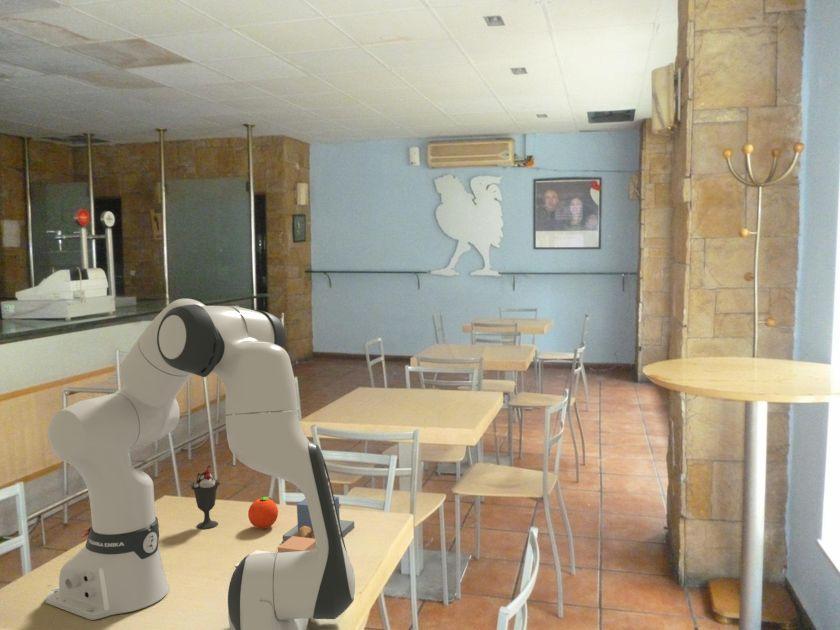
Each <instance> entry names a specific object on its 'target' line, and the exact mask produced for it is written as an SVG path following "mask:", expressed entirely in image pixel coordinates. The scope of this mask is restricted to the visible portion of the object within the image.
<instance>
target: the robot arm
mask: <svg viewBox="0 0 840 630" xmlns="http://www.w3.org/2000/svg"><path fill="white" fill-rule="evenodd" d="M286 346H287V334H286V329H285V326H284V324H283V323H282V321H281V320H280V319H279V318H278V317H276V316H275V315H273V314H271V313H270V312H266V311H264V310H261V309H249V308H246V307H245V308H244V307H240V306H234V305H205V304H204V303H202V302H201V301H199V300H195V299H192V298H178V299H175V300H174V301H172V302H170V303H169V304H168V305H167V306H166V307H165V308H163V309H162V310H161V311H160V313H158V314H157V315H156V316H155V318H153V320H151V322H150V323H149V324H148V325H147V327H146V328H145V329H144V331H143V332H142V333H141V335H140V336H139V337H138V339H137V340H136V342H135V344H134V345H133V346H132V347H131V349H130V350H129V352H128V353H127V355H126V356H125V358H124V359H123V360H122V362H121V364H120V367H119V377H120V382H121V384H122V386H123V387H121V389H119V390H118V391H115V392H112V393H110V394H106V395H101V396H97V397H92V398H86V399H82V400H80V401H77V402H75V403H72V404H71V405H68V406H66V407H65V408H62V409H60V410H59V411H57V412H55V414H53V416H52V417H51V419H50V422H49V424H48V427H47V439H48V444H49V447H50V449H51V450H52V452H53V453H54V455H56V457H57V458H59V459H60V460H61V461H62V462H65V463H67V464H69V465H71V466H72V467H74V468H75V469H76V471H77V472H78V473H79V474H80V476H81V477H82V479H83V481H84V483H85V485H86V488H87V493H88V498H89V506H90V515H91V524H92V525H91V526H90V527H88V528H87V529H84V530H82V531H81V532H80V534H82V535H81V536H80V538H81V539H83V538H84V537H87V539H86V542H85V546H83V547H82V548H81V549H80V550H79V551H77V553H75V554H74V555H73V556H71V558H70V559H68V560H67V561H66V562H65V563H64V564H63V566H62V567H61V568H60V573H59V579H58V580H59V581H58V585H57V586H56V587H54V588H53V589H52V590H50V591H49V593H48V594H47V595H46V596H45V603H46V604H48V605H51V606H53V607H56V608H59V609H62V610H63V611H67V612H68V613H71V614H74V615H77V616H80V617H83V618H85V619H88V620H90V621H91V620H92V621H93V620H99V619H102V618H106V617H109V616H113V615H118V614H119V615H120V614H125V613H130V612H131V613H132V612H134V611H137V610H141V609H144V608H147V607H149V606H152V605H153V604H156V603H157V602H159V601H161V600H162V599H163V598H164V597H166V595H167V594H168V593H169V591H170V586H169V583H168V580H167V575H166V571H165V570H164V566H163V561H162V556H161V550H160V545H159V539H160V529H159V528H160V525H159V519H158V517H157V515H156V505H155V490H154V481H153V479H152V477H150V475H149V474H147V473H146V472H145V471H142V470H139V469H136V468H134V467H133V465H132V463H131V459H130V455H129V453H130V450H133V449H136V448H139V447H143V446H146V445H149V444H153V443H155V442H157V441H159V440H160V439H162V438H163V437H165V436H166V435H169V434H170V433H172V432H173V431H174V430H175V429H176V428H177V426H178V424H179V422H180V416H181V415H180V413H181V411H180V406H179V403H178V400H177V396H178V395H179V393H180V392H181V390H182V388H183V387H184V386H185V385H186V384H187V382H188V381H189V380H190V378H191V377H192V375H193V374H194V375H197V376H199V377H201V378H207V377H208V376H209V375H210V374H214V375H215V376H217V377H218V378H220V380H221V381H222V383H223V386H224V390H225V392H224V393H225V430H226V438H227V443H228V444H227V445H228V447H229V450H230V451H231V453H232V454H233V456H234V457H235V459H237V460H238V461H239V462H240V463H241V464H243V465H244V466H246V467H248V468H250V469H251V470H253V471H256V472H258V473H261V474H264V475H268V476H271V477H274V478H279V479H281V480H283V481H285V482H288V483H291V484H292V485H294V486H295V487H296V488H297V489H298V490H299V491H301V493H302V494H303V495H304V496H303V497H304V499H305V498H306V501H307V505H308V509H309V514H310V518H311V523H312V527H313V532H314V536H315V541H316V545H317V546H316V548H315V549H313V550H308V551H295V552H282V553H279V552H278V551H275V552H273V551H272V552H273V553H261V554H252V553H251V554H252V555H250V554H248V555H245V557H244V558H243V559H241V561H239V562H240V563H239V562H238V563H239V565H238V566H237V567H236V568H235V570H233V572H232V574H231V577H230V582H229V585H228V591H227V608H228V612H227V615H228V616H227V617H228V627H229V630H307V628H308V624H309V620H310V619H312V618H313V619H314V620H336V619H338V618H339V617H340V616H341V615H342V614H344V612H345V611H346V610H348V608H350V606H351V605H352V603H353V602H354V600H355V594H356V593H355V592H356V578H355V572H354V568H353V565H352V563H351V559H350V557H349V555H348V552H347V547H346V544H345V541H344V537H343V535H342V531H341V527H340V522H339V518H338V513H337V509H336V504H335V500H334V492H333V488H332V484H331V479H330V475H329V472H328V467H327V464H326V461H325V458H324V454H323V452H322V450H321V449H320V446H319V445H318V443H315V442H313V441H311V440H309V439H308V437H307V435H306V434H305V433H304V430H303V428H302V426H301V422H300V419H299V411H298V410H299V407H298V395H297V394H298V393H297V388H296V387H297V386H296V380H295V375H294V370H293V365H292V362H291V357H290V355H289V354H288V352H287V351H286ZM183 389H184V388H183ZM83 533H84V534H83Z"/></svg>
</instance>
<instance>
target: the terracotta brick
mask: <svg viewBox="0 0 840 630" xmlns="http://www.w3.org/2000/svg"><path fill="white" fill-rule="evenodd" d="M316 546H317V545H316V541H315V539H313V538H304V537H296V536H292V537H291V538H289V539H288V540H287V541H285V542H282V543H281V544H279V546H277V552H279V553H282V552H295V551H308V550H313V549H315V548H316Z"/></svg>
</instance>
